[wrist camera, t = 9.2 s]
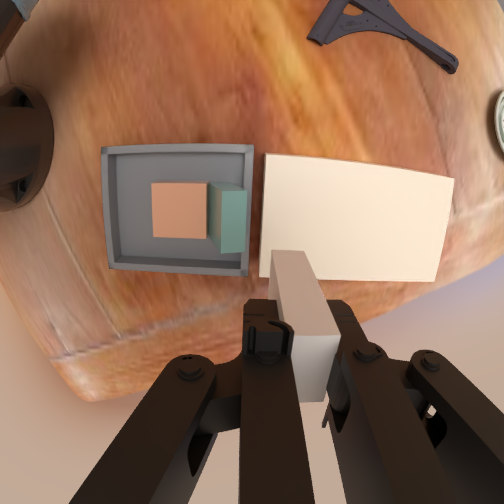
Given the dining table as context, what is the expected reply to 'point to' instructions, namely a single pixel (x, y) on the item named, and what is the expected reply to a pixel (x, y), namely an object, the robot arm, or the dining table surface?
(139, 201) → the tray
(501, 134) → the saucer
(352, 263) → the cream board
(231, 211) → the green glazed tile
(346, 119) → the dining table surface
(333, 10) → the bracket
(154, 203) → the terracotta tile
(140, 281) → the dining table surface
